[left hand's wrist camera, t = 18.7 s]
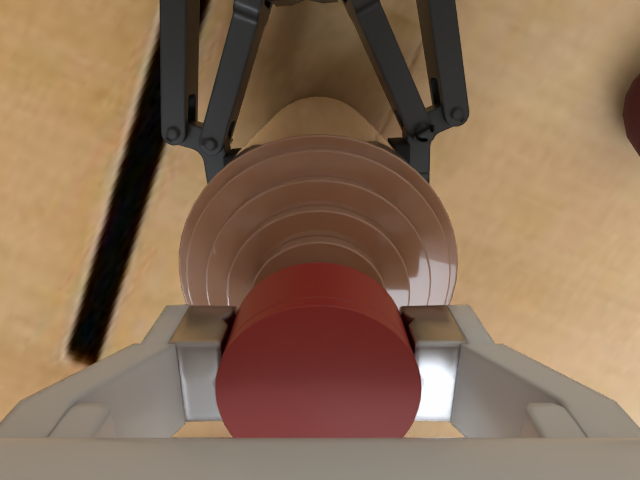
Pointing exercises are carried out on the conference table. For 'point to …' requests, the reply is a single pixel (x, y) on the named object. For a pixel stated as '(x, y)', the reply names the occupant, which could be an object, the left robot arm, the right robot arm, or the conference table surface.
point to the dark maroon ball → (633, 114)
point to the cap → (318, 359)
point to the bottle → (318, 212)
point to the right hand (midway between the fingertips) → (323, 258)
